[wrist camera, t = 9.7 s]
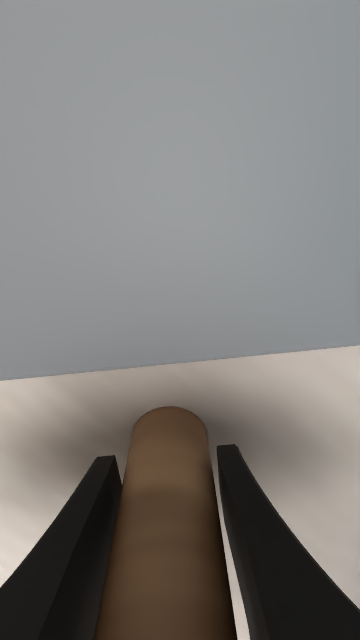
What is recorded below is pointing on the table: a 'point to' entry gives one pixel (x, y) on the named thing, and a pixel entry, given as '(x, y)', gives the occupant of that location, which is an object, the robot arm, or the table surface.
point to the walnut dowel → (167, 539)
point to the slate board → (177, 181)
